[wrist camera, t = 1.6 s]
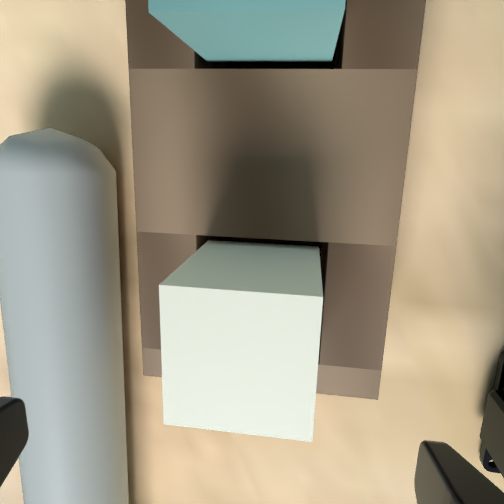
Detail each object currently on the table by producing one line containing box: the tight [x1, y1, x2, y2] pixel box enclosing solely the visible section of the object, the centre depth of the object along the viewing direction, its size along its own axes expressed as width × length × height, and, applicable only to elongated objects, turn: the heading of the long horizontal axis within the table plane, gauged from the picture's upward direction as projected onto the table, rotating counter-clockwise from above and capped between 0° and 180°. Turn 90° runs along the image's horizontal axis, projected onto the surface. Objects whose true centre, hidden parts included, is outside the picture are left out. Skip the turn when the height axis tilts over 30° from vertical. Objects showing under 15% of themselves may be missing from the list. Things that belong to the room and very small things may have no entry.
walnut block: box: [125, 0, 426, 400], centre depth 16 cm, size 9×17×5 cm, turn 178°
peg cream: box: [159, 240, 323, 442], centre depth 13 cm, size 4×4×5 cm
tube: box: [0, 128, 129, 504], centre depth 20 cm, size 5×5×25 cm
